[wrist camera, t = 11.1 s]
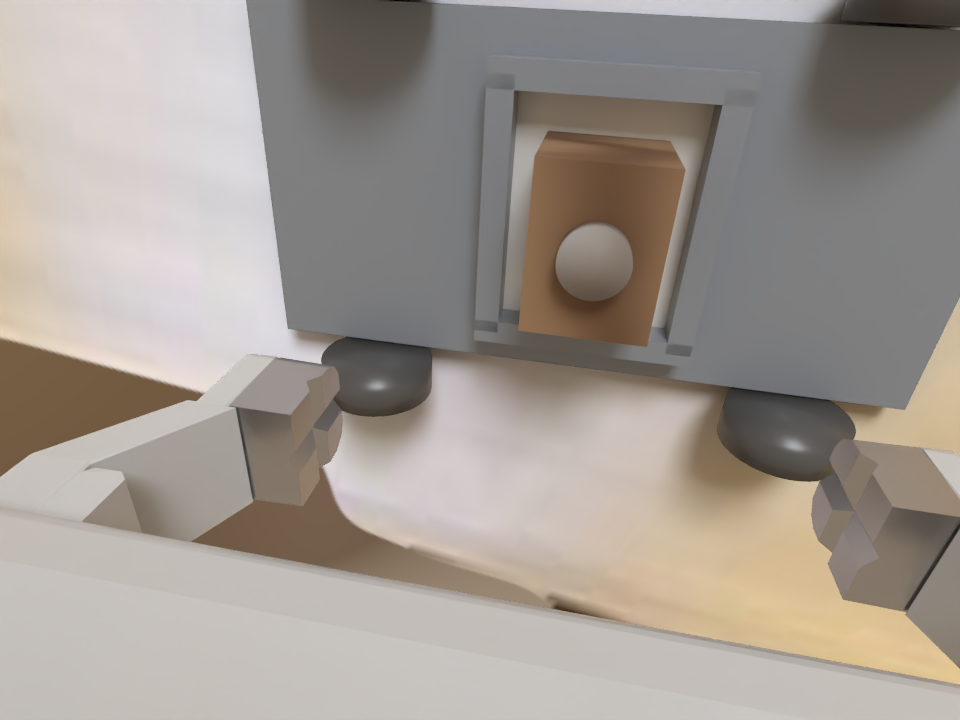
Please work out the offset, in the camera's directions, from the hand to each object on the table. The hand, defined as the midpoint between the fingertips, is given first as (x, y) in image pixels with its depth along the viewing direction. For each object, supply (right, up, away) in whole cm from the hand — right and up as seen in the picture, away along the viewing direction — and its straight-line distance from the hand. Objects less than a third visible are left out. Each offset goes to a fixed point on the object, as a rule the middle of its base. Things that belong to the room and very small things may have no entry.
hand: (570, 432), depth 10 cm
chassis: (+3, +8, +15) cm, 17 cm away
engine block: (+3, +7, +14) cm, 16 cm away
